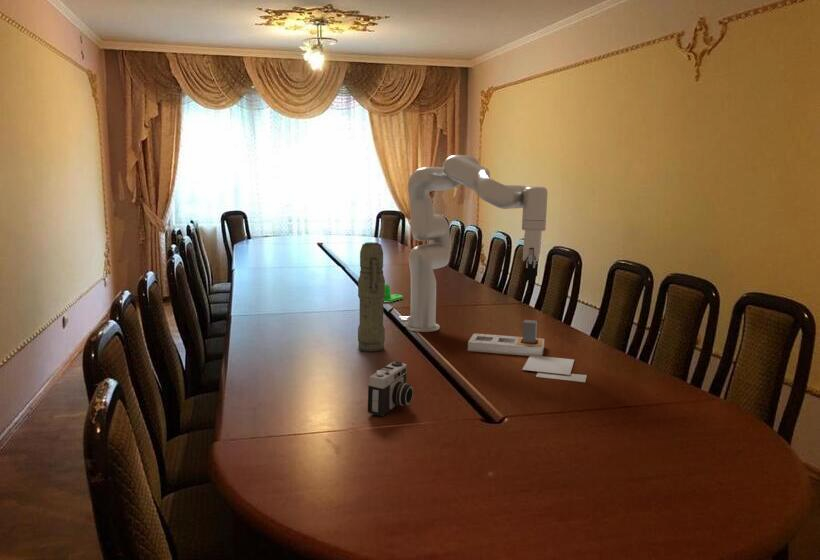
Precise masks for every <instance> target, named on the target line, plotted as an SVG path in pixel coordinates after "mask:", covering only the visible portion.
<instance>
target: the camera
mask: <svg viewBox="0 0 820 560" xmlns="http://www.w3.org/2000/svg"><path fill="white" fill-rule="evenodd" d="M367 387H368V390H367V413H368V414H371V415H375V416H381V417H383V416H384V415H385V414H387V413H388V412H390V411H391V410H393V408H395V407H396V406H398V407H402V406H409V405H410V404H411V402H412V400H413V398H414V397H413V396H414V388H413V386H412V385H411V384H408V383H407V364H406V363H403V362H400V361H392V362H390V363H388V364H387V365H384V367H382V368H381V369H377V370H376V372H374V373H372V374H371V375H370V376H369V385H368V386H367Z"/></svg>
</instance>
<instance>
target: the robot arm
mask: <svg viewBox="0 0 820 560" xmlns="http://www.w3.org/2000/svg"><path fill="white" fill-rule="evenodd" d="M460 186H465V187H466V188H468V189H470V190H472V191H474V192H475V194H476V195H477V196H478V197H479V198H480V199H481V200H483V201H484V202H486V203H488V204H490V205H492V206H494V207H496V208H499V209H501V210H510V209H512V210H513V209H515V210H516V209H522V220H521V230H522V231H524V235H523V245H522V246H523V248H522V261H523V262H525V261H526V262H525V263H526V265H525V267H524V268H525V269H524V270H525V271H524V272H525V273H524V280H525V281H531V282H535V281H536V277H537V276H538V261H539V258H540V254H541V247H542V246H541V245H542V232H545V231H546V227H547V226H546V225H547V209H548V189H547V188H546V187H543V186H525V185H514V184H511V185H509V184H507V185H505V184H503V183H501V182H499V181H496V180H494V179H492V178H491V172H490V170H489V168H486V167H485V166H483V165H480V163H479V161H478V159H476V157H474V156H472V155H467V154H466V155H465V154H453V155H449V156H448V157H447V158H446V159H445V160H444V161H443V165H442V166H441V167H440V166H423V167H420V168H418V169H416V170H415V171H414V172H413V173H412V174H411V175H410V177H409V179H408V182H407V193H408V198H409V213H410V231H411V233H410V234H411V235H412V237H413V239H414V240H415V241H418V242H425V241H428V243H425V244H419V245H416V246H414V247H413V248H412V249H411V250H410V252H409V254H408V264H409V265H408V266H409V273H410V305H409V306H410V307H409V308H410V309H409V310H410V311H409V313H410V315H408V316H405V315H403V316H402V315H399V322H401V323H406V325H405V328H406V329H407V330H409V331H411V332H417V333H430V332H437V331H438V330H440V325H439V323H436V320H437V319H436V317H437V315H436V314H437V310H436V309H437V279H436V276H435V272H434V270H436V269H441V268H444V267H446V266H447V265H448V263H449V262H450V259H451V239H450V236H451V234H450V226H449V223H448V221H447V219H446V218H445V217H444V216H443V215H441V214H435V213H434V203H433V198H432V197H431V195H430V193H429V192H431V191H434V192H436V191H437V192H438V191H450V190H452V189H454V188H457V187H460Z"/></svg>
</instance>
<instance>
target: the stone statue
mask: <svg viewBox="0 0 820 560" xmlns="http://www.w3.org/2000/svg"><path fill="white" fill-rule="evenodd" d="M359 268H360V271H359V277H358V280H357V296H358V299H359V325H358V327H357V341H358V345H357V347H358V350H360V351H363V352H379V351H382V350H384V349H385V341H386V339H385V337H386V336H385V335H386V334H385V333H386V329H385V325H384V302H383V299H384V296H385V284H386V279H385V277H384V269H383V268H384V251H383V246H382V244H380V243H379V242H364V243H362V245H361V248H360V251H359Z"/></svg>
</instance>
